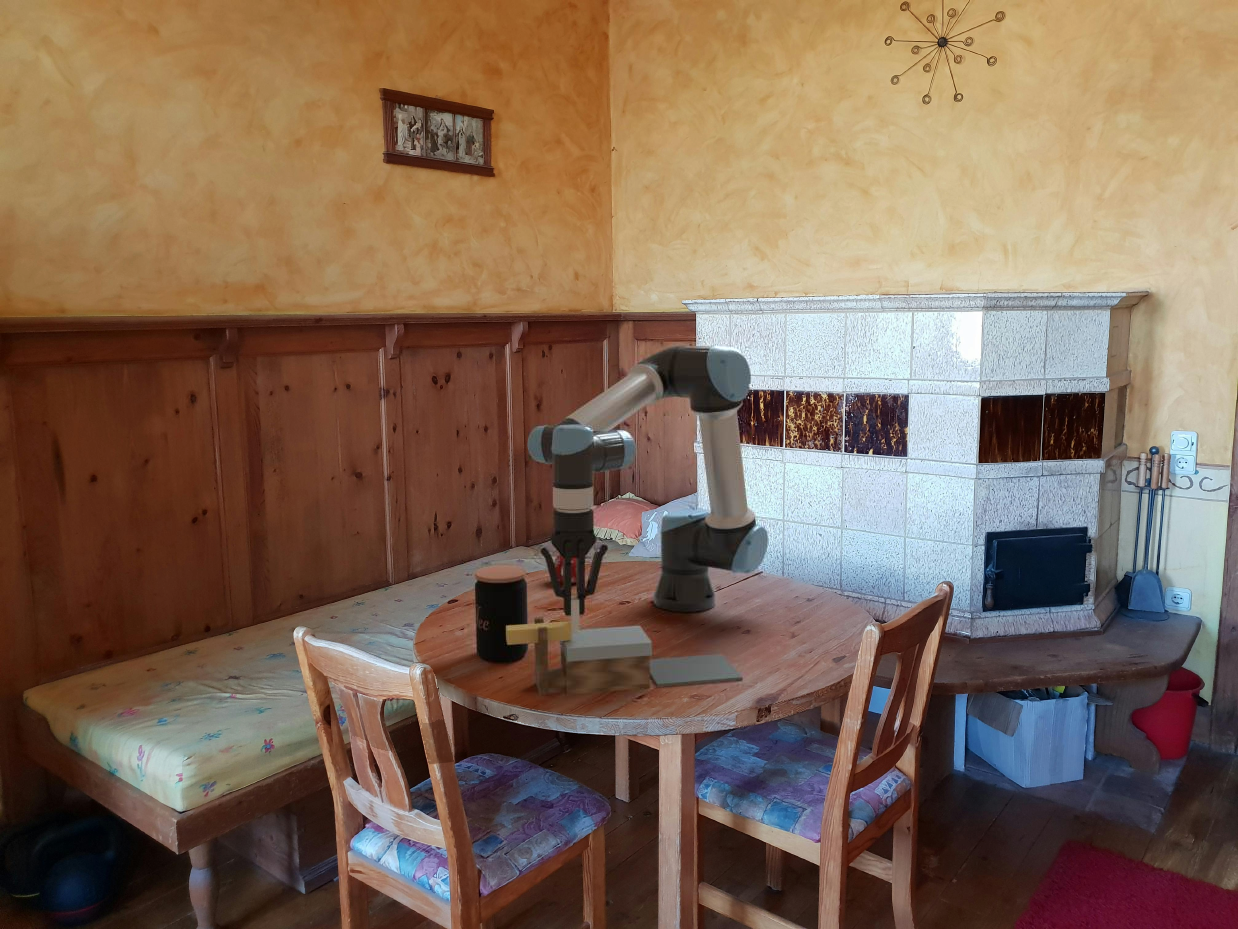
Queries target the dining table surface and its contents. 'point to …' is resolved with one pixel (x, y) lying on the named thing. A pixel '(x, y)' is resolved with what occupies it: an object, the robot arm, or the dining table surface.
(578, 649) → the lid
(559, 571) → the christmas ornament
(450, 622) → the dining table surface
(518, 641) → the yellow block
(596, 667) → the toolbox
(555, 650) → the dining table surface
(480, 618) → the coffee jar
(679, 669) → the mat
